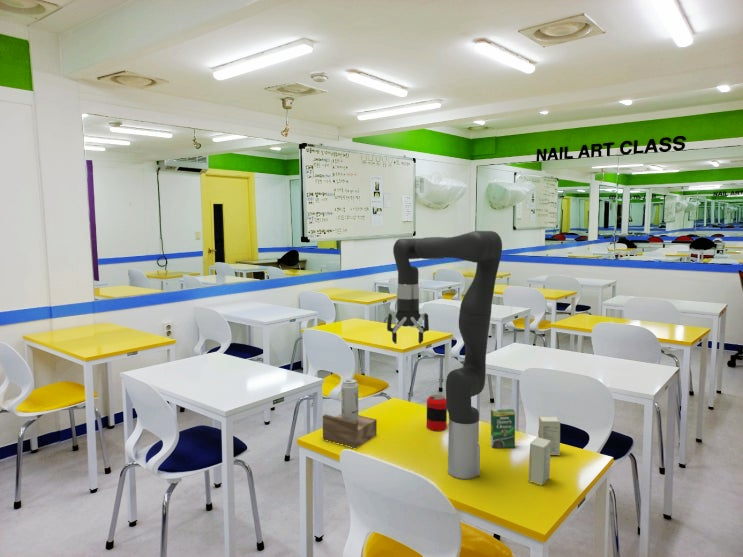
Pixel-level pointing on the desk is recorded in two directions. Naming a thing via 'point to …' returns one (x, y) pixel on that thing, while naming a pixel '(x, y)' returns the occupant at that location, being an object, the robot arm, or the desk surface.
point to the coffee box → (503, 428)
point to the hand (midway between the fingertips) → (407, 343)
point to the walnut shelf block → (349, 430)
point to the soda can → (436, 413)
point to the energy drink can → (350, 400)
